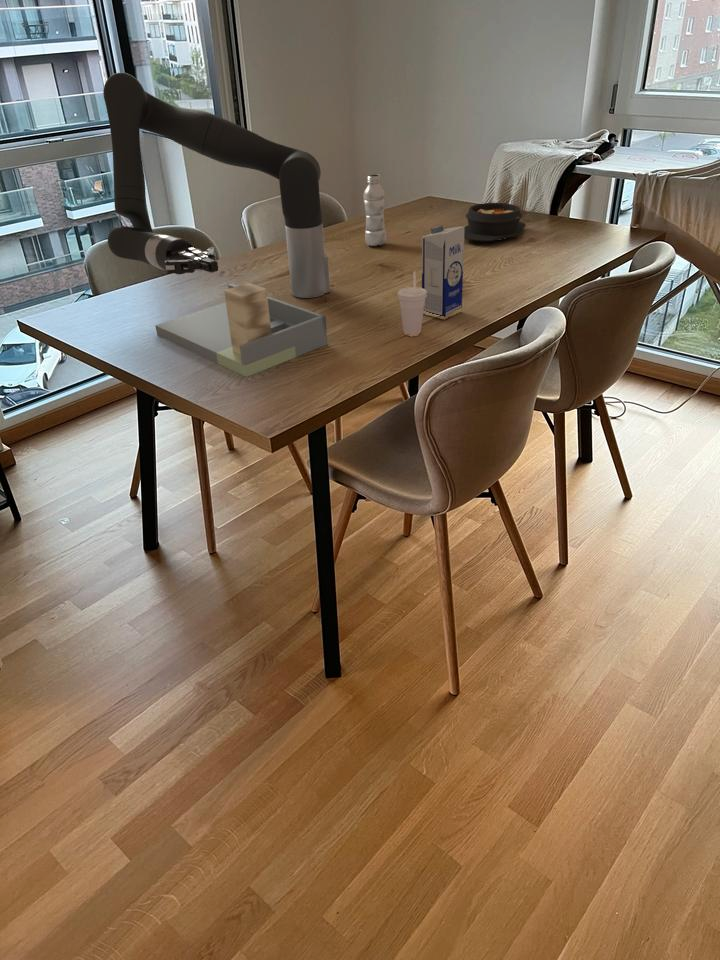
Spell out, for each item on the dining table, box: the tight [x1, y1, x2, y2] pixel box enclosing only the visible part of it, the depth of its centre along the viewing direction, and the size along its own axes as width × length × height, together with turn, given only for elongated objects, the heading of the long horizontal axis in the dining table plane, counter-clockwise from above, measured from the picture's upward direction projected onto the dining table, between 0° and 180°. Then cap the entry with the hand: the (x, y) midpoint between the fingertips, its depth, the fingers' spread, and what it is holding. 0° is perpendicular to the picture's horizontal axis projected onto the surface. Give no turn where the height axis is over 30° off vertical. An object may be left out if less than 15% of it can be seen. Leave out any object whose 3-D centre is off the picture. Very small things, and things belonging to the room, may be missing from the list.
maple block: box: [223, 282, 271, 355], centre depth 154 cm, size 6×6×13 cm
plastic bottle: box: [363, 173, 387, 247], centre depth 223 cm, size 6×7×20 cm
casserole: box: [464, 202, 527, 242], centre depth 230 cm, size 25×19×8 cm
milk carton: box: [421, 225, 466, 317], centre depth 173 cm, size 7×7×20 cm
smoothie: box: [396, 270, 427, 335], centre depth 165 cm, size 6×6×14 cm
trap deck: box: [154, 283, 328, 378], centre depth 168 cm, size 22×34×6 cm, turn 44°
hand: (214, 266), depth 156 cm, fingers closed
